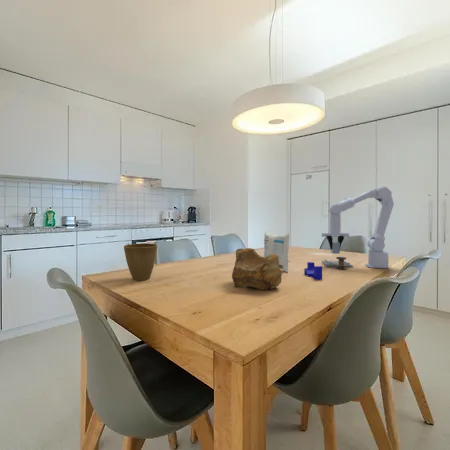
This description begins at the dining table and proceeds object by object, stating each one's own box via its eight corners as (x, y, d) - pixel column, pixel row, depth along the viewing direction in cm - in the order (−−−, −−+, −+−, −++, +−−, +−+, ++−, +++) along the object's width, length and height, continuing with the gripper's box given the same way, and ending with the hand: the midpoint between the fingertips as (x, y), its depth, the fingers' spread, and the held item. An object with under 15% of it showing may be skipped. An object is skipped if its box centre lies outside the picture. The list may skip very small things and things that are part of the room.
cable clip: (304, 274, 140) (304, 262, 139) (313, 274, 140) (313, 262, 139) (312, 280, 128) (312, 267, 127) (322, 279, 128) (322, 266, 127)
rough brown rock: (217, 285, 121) (215, 252, 119) (245, 276, 131) (243, 245, 130) (257, 300, 103) (255, 260, 101) (285, 288, 114) (284, 252, 112)
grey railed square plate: (346, 262, 168) (346, 258, 168) (352, 267, 155) (352, 263, 154) (321, 262, 171) (321, 258, 170) (326, 266, 157) (326, 262, 157)
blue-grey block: (337, 252, 163) (337, 241, 163) (339, 253, 157) (339, 242, 157) (330, 252, 163) (330, 241, 163) (333, 253, 158) (333, 242, 157)
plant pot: (118, 279, 130) (117, 245, 129) (146, 274, 141) (146, 242, 140) (135, 285, 120) (134, 248, 119) (164, 279, 131) (163, 244, 130)
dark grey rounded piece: (344, 267, 154) (345, 257, 154) (347, 269, 149) (347, 258, 149) (335, 267, 155) (335, 256, 154) (337, 269, 150) (337, 258, 149)
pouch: (281, 273, 140) (281, 234, 139) (259, 267, 157) (259, 231, 156) (293, 272, 144) (293, 233, 143) (271, 265, 161) (271, 231, 160)
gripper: (323, 225, 157) (323, 250, 157) (350, 225, 155) (350, 250, 155) (321, 225, 164) (320, 248, 164) (347, 225, 162) (346, 248, 162)
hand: (335, 249), depth 160 cm, fingers closed on blue-grey block, 3 cm apart
